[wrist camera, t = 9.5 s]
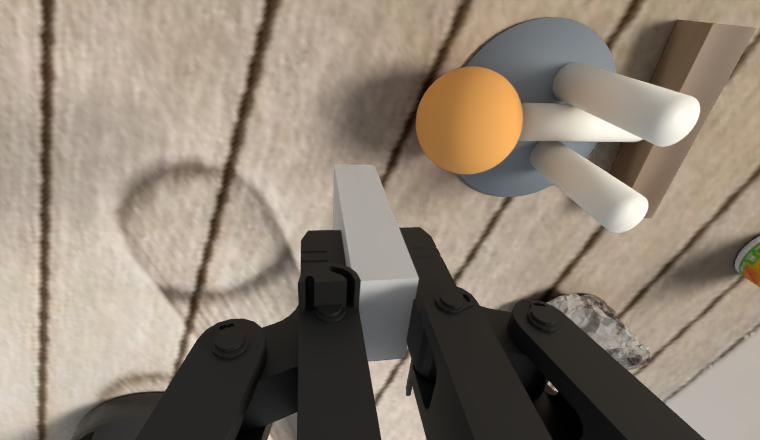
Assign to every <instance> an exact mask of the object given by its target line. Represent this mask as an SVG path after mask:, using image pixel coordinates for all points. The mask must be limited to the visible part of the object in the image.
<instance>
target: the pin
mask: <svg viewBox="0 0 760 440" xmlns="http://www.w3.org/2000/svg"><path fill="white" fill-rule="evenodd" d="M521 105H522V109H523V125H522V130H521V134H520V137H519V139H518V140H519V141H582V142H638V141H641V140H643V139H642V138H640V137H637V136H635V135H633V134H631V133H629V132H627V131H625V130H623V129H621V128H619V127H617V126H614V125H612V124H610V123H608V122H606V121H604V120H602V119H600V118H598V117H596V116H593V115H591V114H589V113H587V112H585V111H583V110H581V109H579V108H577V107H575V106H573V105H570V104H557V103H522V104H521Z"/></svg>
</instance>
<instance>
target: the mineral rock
mask: <svg viewBox="0 0 760 440" xmlns="http://www.w3.org/2000/svg"><path fill="white" fill-rule="evenodd" d="M546 303H548V304H550V305H552V306H554V307H556V308H557V309H559V310H560V311H561V312H563V313H564V314H565V315H566V316H567V317H568V318H570V319H571V320H572V321H573V322H574V323H575V324H576V325H577V326H578V327H580V328H581V329H582V330H583V331H584V332H585V333H586V334H587V335H589V336H590V337H591V338H592V339H593V340H594V341H595V342H596V343H597V344H599V345H600V346H601V347H602V348H603V349H604V350H605V351H606V352H608V353H609V354H610V355H611V356H612V357H613V358H614V359H615V360H617V361H618V362H619V363H620V364H621V365H622V366H623V367H624V368H625V369H627V370H631V369H636V368H639V367H642V366H643V365H647V364H648V363H650V360H649V356H650V352H649V351H648V346H646V345H643V344H641V343H640V342H639V341H638V339H637V337H636V335H635V334H634V333H632V332H631V331H630V330H629V329H628V328H627V327H626V326H625V325H624V324H623V323H622V322H621V321H620V320H619V319H617V318H616V316H615V311H614V310H613V309H612V308H610V307H609V306H608V305H607V304H606V302H604V301H603V300H601V299H600V298H598V297H596V296H593V295H589V294H588V295H586V294H583V295H581V296H579V295H577V294H576V293H572V294H570V295H568V296H567V295H562V296H559V297H557V298H555V299H553V300H551V301H549V302H546Z"/></svg>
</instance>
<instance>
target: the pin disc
mask: <svg viewBox="0 0 760 440" xmlns="http://www.w3.org/2000/svg"><path fill="white" fill-rule="evenodd" d="M571 62H581V63H584V64H587V65H590V66H594V67H597V68H600V69H604V70H607V71H610V72H613V73H616V68H615V63H614V60H613V57H612V54H611V52H610V50H609V49H608V47H607V45H606V44H605V42H604V41H603V40H602V38H601V37H600V36H599V35H598V34H597V33H596V32H594V31H593V30H592V29H590V28H589V27H587V26H585V25H584V24H582V23H579V22H576V21H574V20H569V19H564V18H540V19H533V20H530V21H527V22H523V23H520V24H518V25H516V26H513V27H511V28H509V29H507V30H506V31H504V32H502V33H501V34H499V35H497V36H496V37H494V38H493V39H492V40H491V41H489V42H488V43H487V44H485V45H484V46H483V47H482V48H481V49H480V50H479V51H478V52H477V53H476V54H475V55H474V56H473V58H472V59H471V60H470V61H469V62H468V64H467V65H466V66H465V67H470V66H476V67H483V68H487V69H490V70H493V71H495V72H497V73H499V74H500V75H502V76H503V77H504V78H506V79H507V80H508V81H509V82H510V83H511V85H512V86H513V87H514V89H515V90H516V92H517V93H518V96H519V98H520V101H521V104H522V103H557V104H568V103H566V102H564V101H562V100H560V99H558V98H557V97H556V96H555V95H554V93H553V81H554V78H555V76H556V74H557V73H558V72H559V70H560V69H561V68H562V67H564V66H565V65H567V64H569V63H571ZM539 142H540V141H519V140H518V142H517V144H516V145H515V147H514V149H513V150H512V151H511V153H510V154H509V155H508V156H507V157H506V158H505V159H504V160H503V161H502V162H500V163H499V164H498V165H496V166H495V167H493V168H491V169H489V170H486V171H483V172H480V173H476V174H458V175H459V176H460V177H461V178H462V179H463V180H464V182H466V183H467V184H468V185H470V186H471V187H473V188H474V189H476V190H478V191H480V192H483V193H486V194H488V195H493V196H499V197H517V196H522V195H528V194H531V193H535V192H538V191H540V190H543V189H545V188H547V187H549V186H551V185H553V183H551V182H550V181H549V180H548V179H547V178H546V177H544V176H543V175H542V174H541V173H540V172H538V171H537V170H536V169H535V168H534V167H533V166H532V165H531V163H530V154H531V151H532V149H533V148H534V147H535V145H536V144H538V143H539ZM559 142H561V143H563V144H564V145H566V146H567V147H569V148H570V149H572V150H573V151H575V152H576V153H578V154H579V155H581V156H583V157H584V158H587V156H588V155H589V154H590V153H591V152H592V150H593V149H594V148H595V146H596V145H597V144H598V142H582V141H559Z"/></svg>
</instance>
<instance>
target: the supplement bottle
mask: <svg viewBox="0 0 760 440" xmlns="http://www.w3.org/2000/svg"><path fill="white" fill-rule="evenodd" d="M735 269H736V270H737V272H739V273H740V274H741V275H743V276H744V277H745V278H747V279H748V280H750V281H751V282H753V283H754V284H756V285H757V286H759V287H760V236H758V237H757V238H755V239H753V240H752V241H751V242H749V243H748V244H747V245H746V246H745V247H744V248H743V249H742V250H741V251H740V253H739V254H738V256H737V258H736V260H735Z"/></svg>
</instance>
